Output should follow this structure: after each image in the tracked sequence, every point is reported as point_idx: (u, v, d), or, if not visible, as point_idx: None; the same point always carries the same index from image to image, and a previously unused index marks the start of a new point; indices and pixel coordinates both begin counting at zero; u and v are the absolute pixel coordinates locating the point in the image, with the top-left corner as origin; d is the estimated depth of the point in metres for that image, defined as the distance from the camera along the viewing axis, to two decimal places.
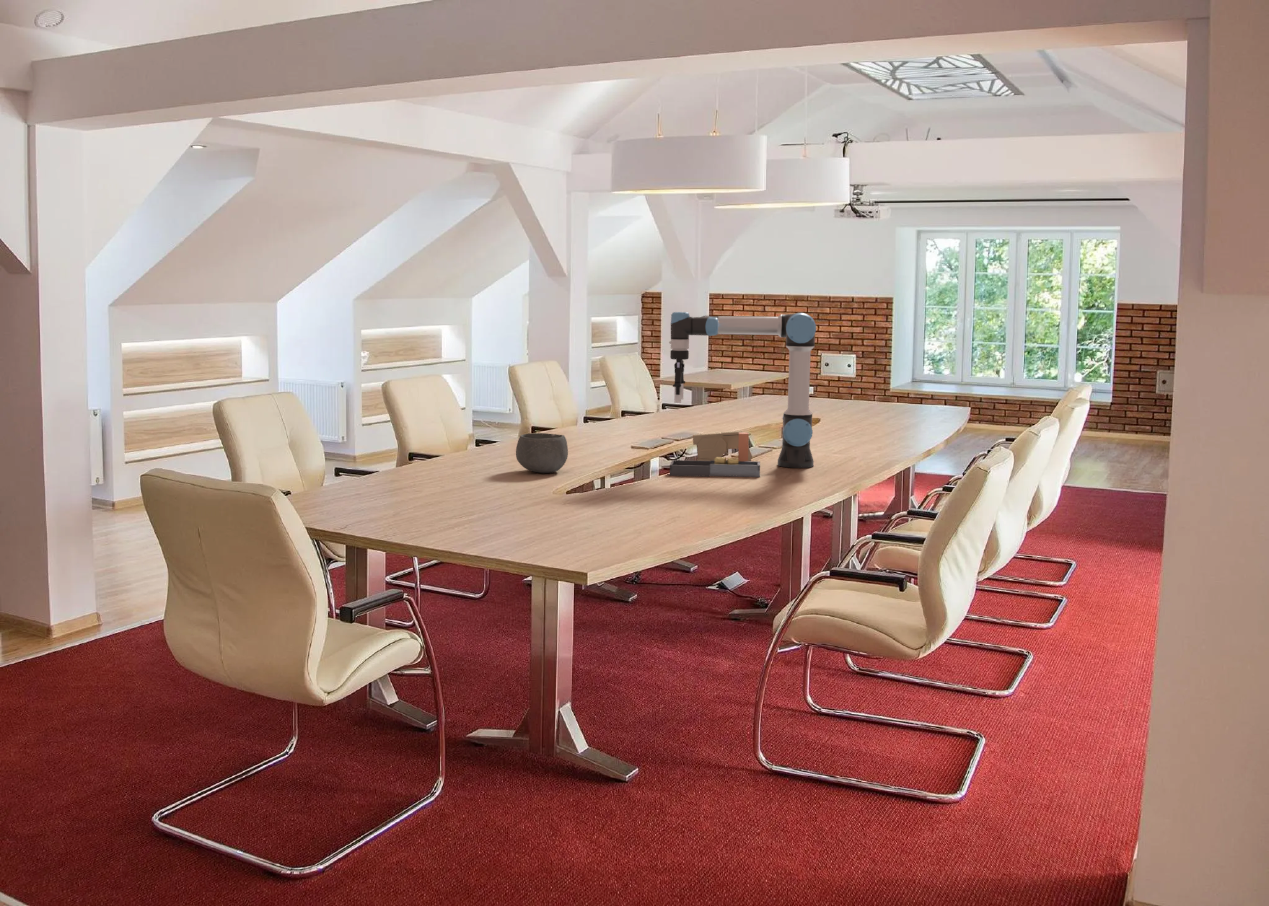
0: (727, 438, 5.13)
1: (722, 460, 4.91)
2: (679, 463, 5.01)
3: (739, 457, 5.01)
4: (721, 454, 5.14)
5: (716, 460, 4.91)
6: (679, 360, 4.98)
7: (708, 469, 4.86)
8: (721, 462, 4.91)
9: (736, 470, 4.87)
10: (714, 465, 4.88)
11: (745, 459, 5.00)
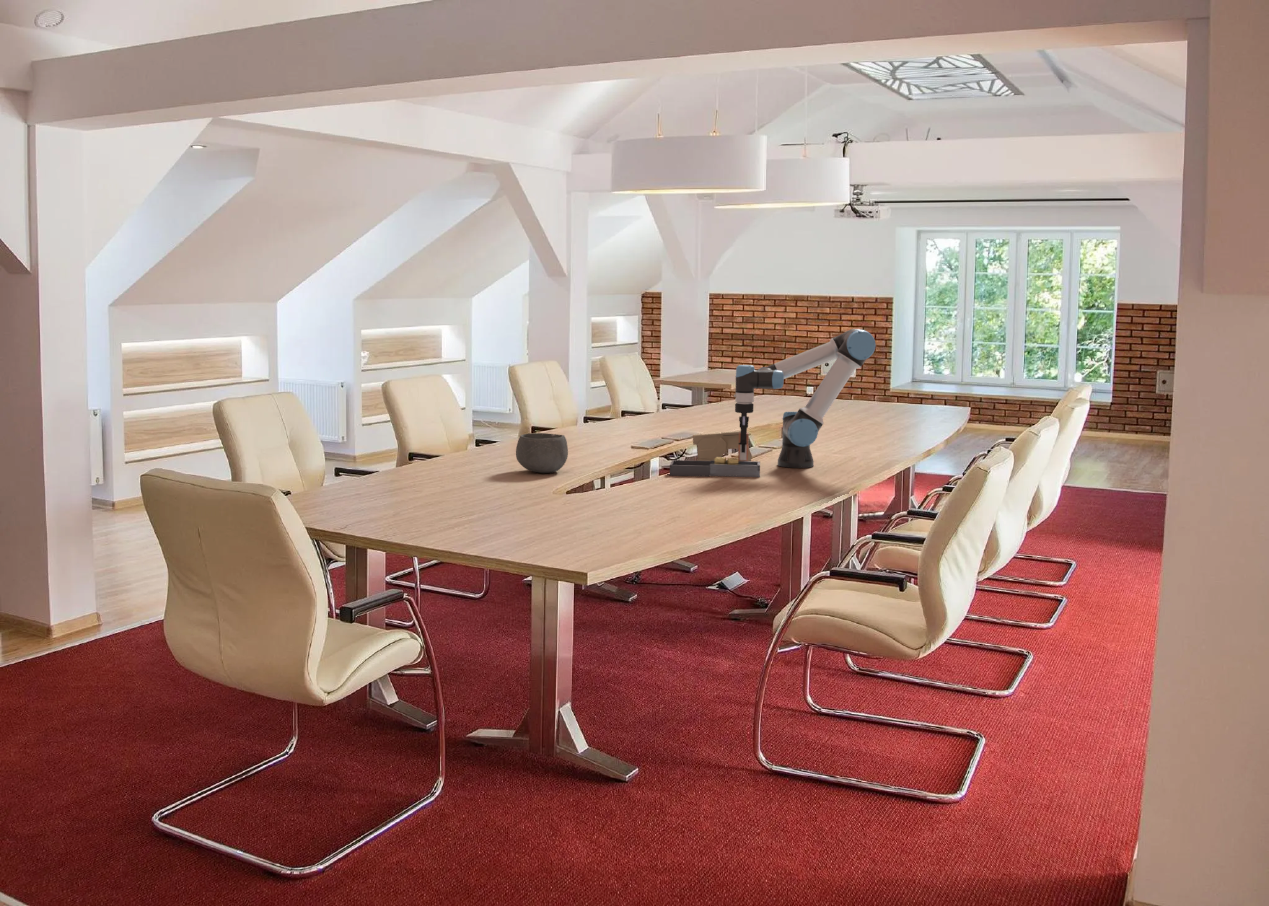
0: (727, 438, 5.13)
1: (722, 460, 4.91)
2: (679, 463, 5.01)
3: (739, 457, 5.01)
4: (721, 454, 5.14)
5: (716, 460, 4.91)
6: (744, 414, 4.96)
7: (708, 469, 4.86)
8: (721, 462, 4.91)
9: (736, 470, 4.87)
10: (714, 465, 4.88)
11: None
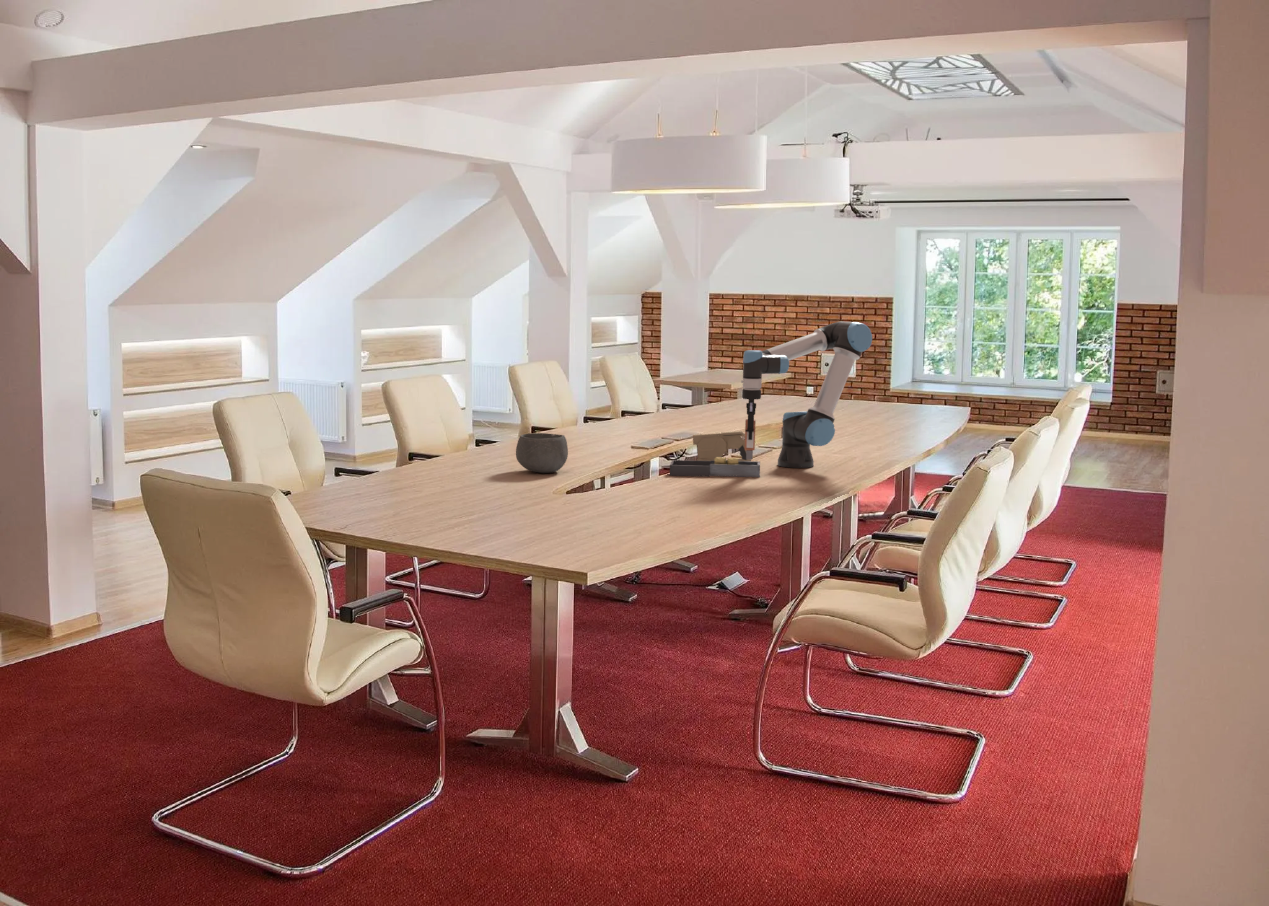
0: (727, 438, 5.13)
1: (722, 460, 4.91)
2: (679, 463, 5.01)
3: (746, 444, 4.88)
4: (721, 454, 5.14)
5: (716, 460, 4.91)
6: (752, 400, 4.84)
7: (708, 469, 4.86)
8: (721, 462, 4.91)
9: (736, 470, 4.87)
10: (714, 465, 4.88)
11: None
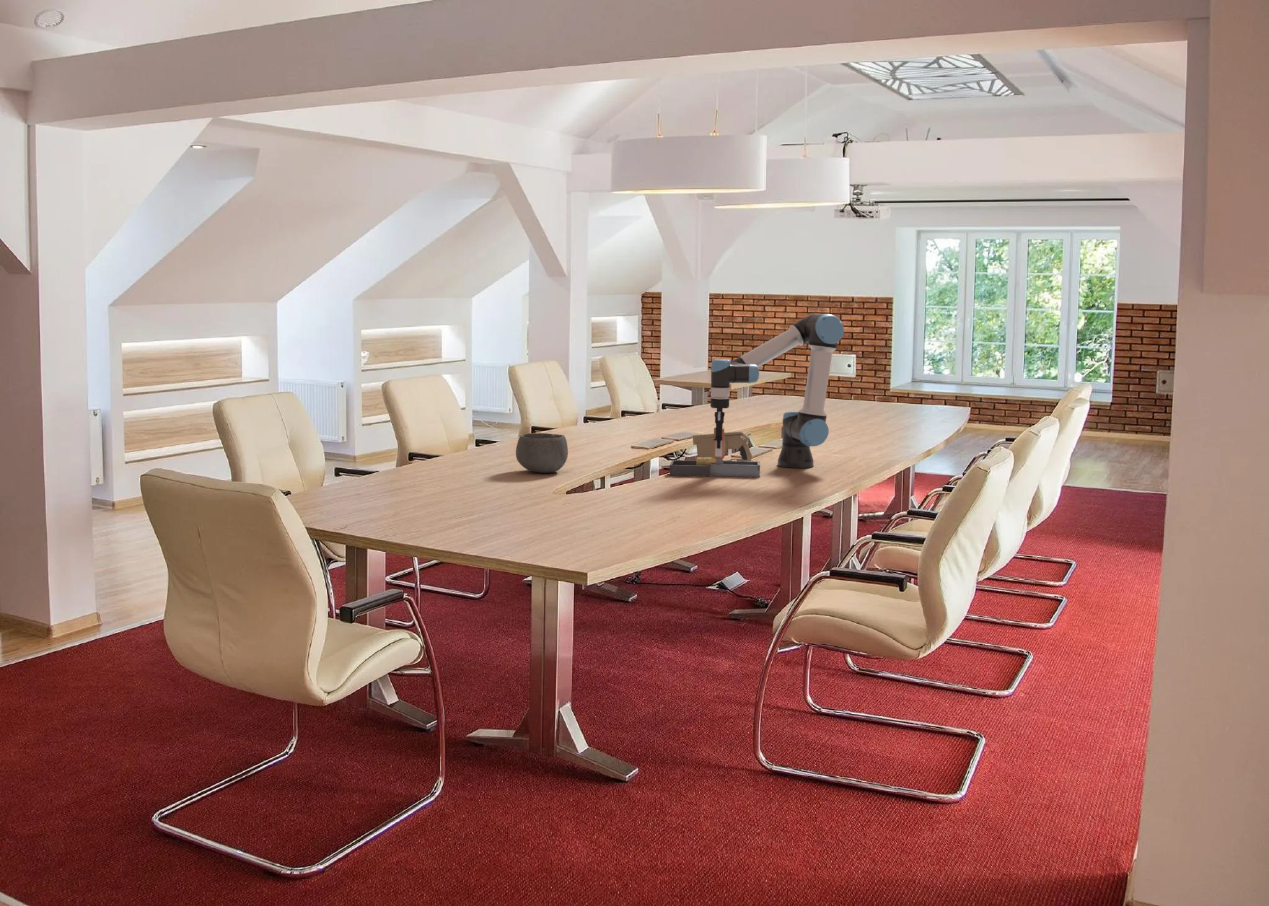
0: (727, 438, 5.13)
1: (704, 460, 4.92)
2: (679, 463, 5.01)
3: None
4: None
5: (698, 460, 4.92)
6: (720, 409, 4.86)
7: (708, 469, 4.86)
8: (703, 462, 4.92)
9: (736, 470, 4.87)
10: (714, 465, 4.88)
11: (722, 455, 4.90)
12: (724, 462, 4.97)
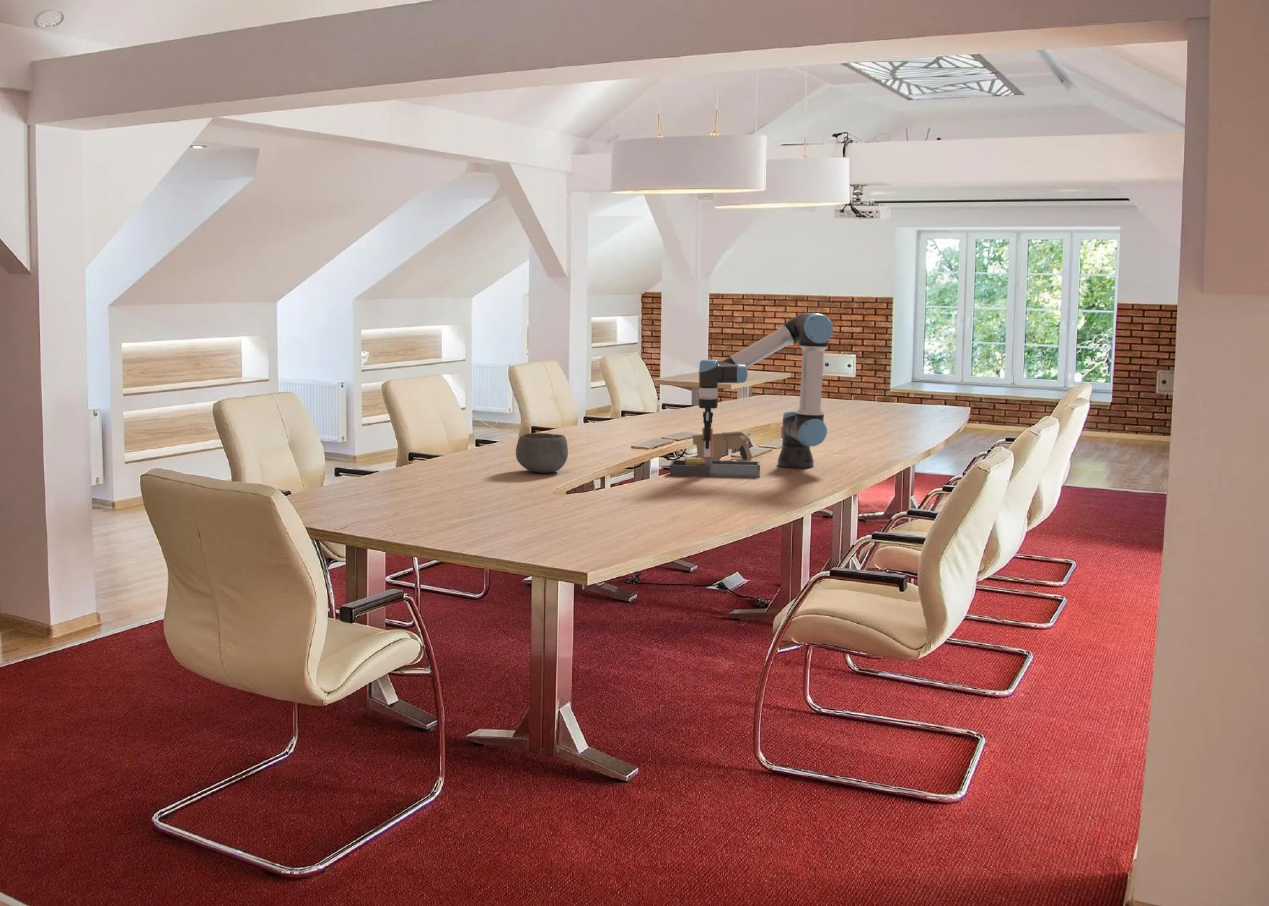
0: (727, 438, 5.13)
1: (693, 460, 4.92)
2: (679, 463, 5.01)
3: None
4: (721, 454, 5.14)
5: (687, 460, 4.92)
6: (708, 409, 4.86)
7: (708, 469, 4.86)
8: (692, 462, 4.92)
9: (736, 470, 4.87)
10: (714, 465, 4.88)
11: (711, 454, 4.90)
12: (724, 462, 4.97)
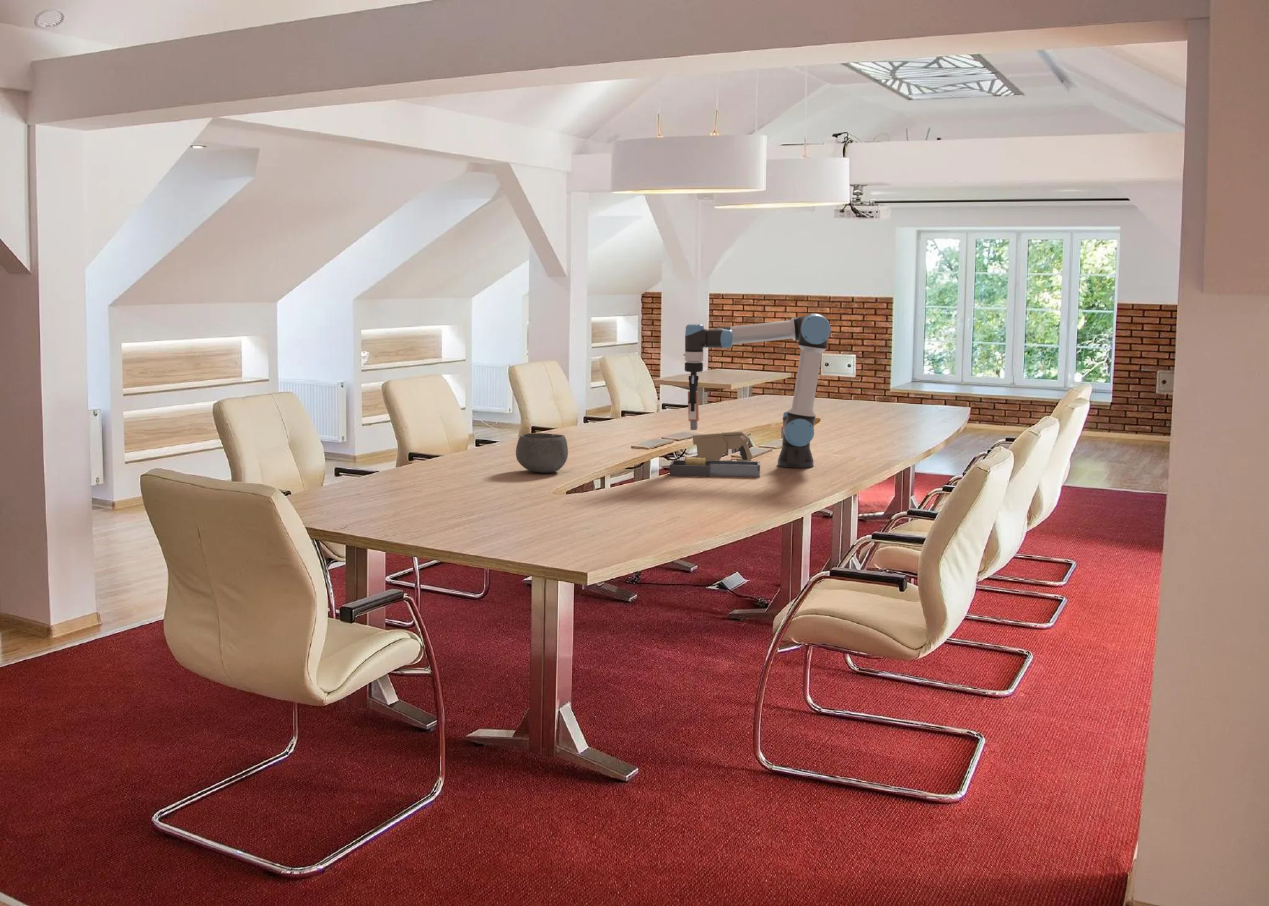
0: (727, 438, 5.13)
1: (693, 460, 4.92)
2: (679, 463, 5.01)
3: None
4: (721, 454, 5.14)
5: (687, 460, 4.92)
6: (693, 372, 4.97)
7: (708, 469, 4.86)
8: (692, 462, 4.92)
9: (736, 470, 4.87)
10: (714, 465, 4.88)
11: (696, 417, 5.01)
12: (724, 462, 4.97)
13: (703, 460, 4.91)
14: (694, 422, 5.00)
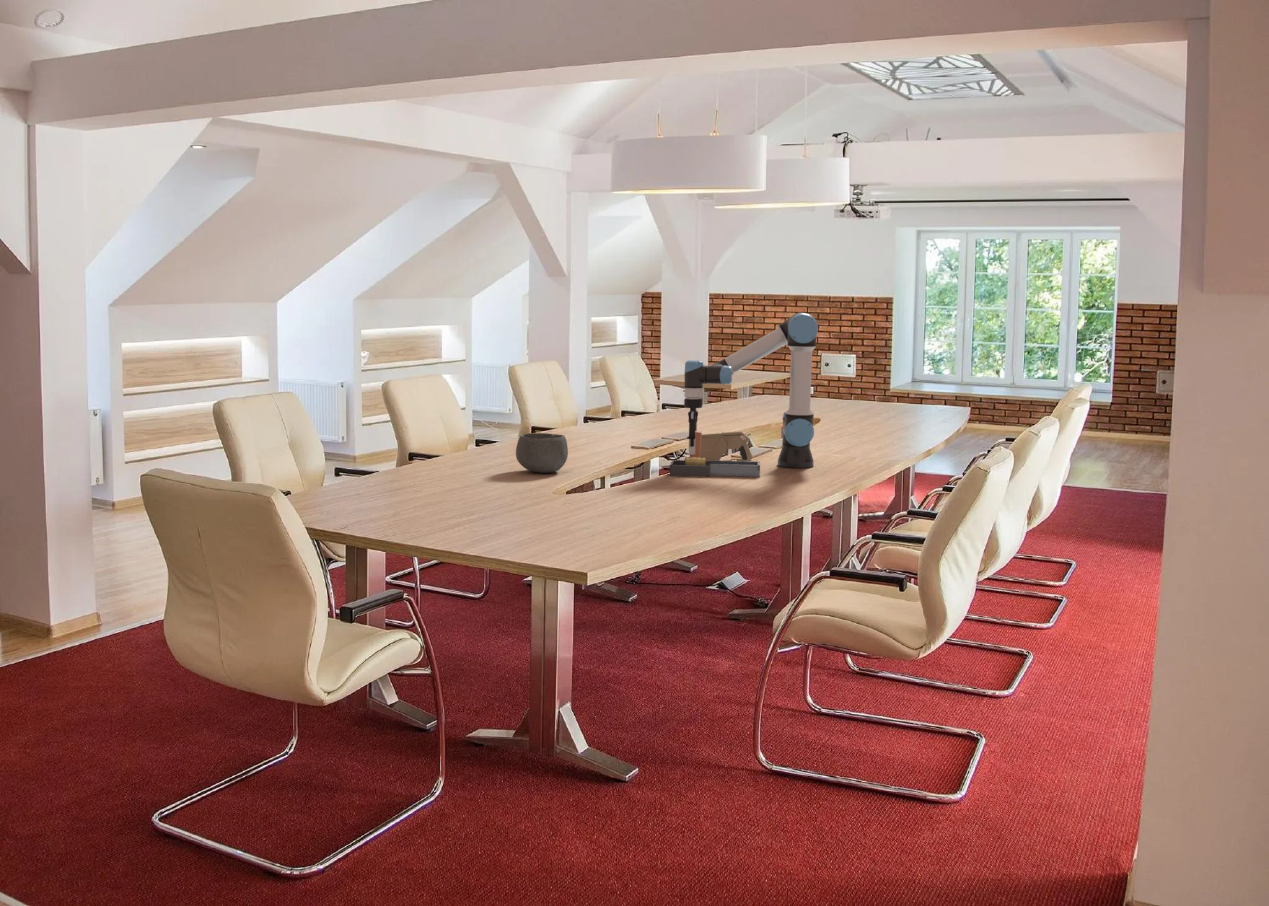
0: (727, 438, 5.13)
1: (693, 460, 4.92)
2: (679, 463, 5.01)
3: (690, 455, 5.04)
4: (721, 454, 5.14)
5: (687, 460, 4.92)
6: (693, 409, 4.99)
7: (708, 469, 4.86)
8: (692, 462, 4.92)
9: (736, 470, 4.87)
10: (714, 465, 4.88)
11: (697, 457, 5.03)
12: (724, 462, 4.97)
13: (703, 460, 4.91)
14: None
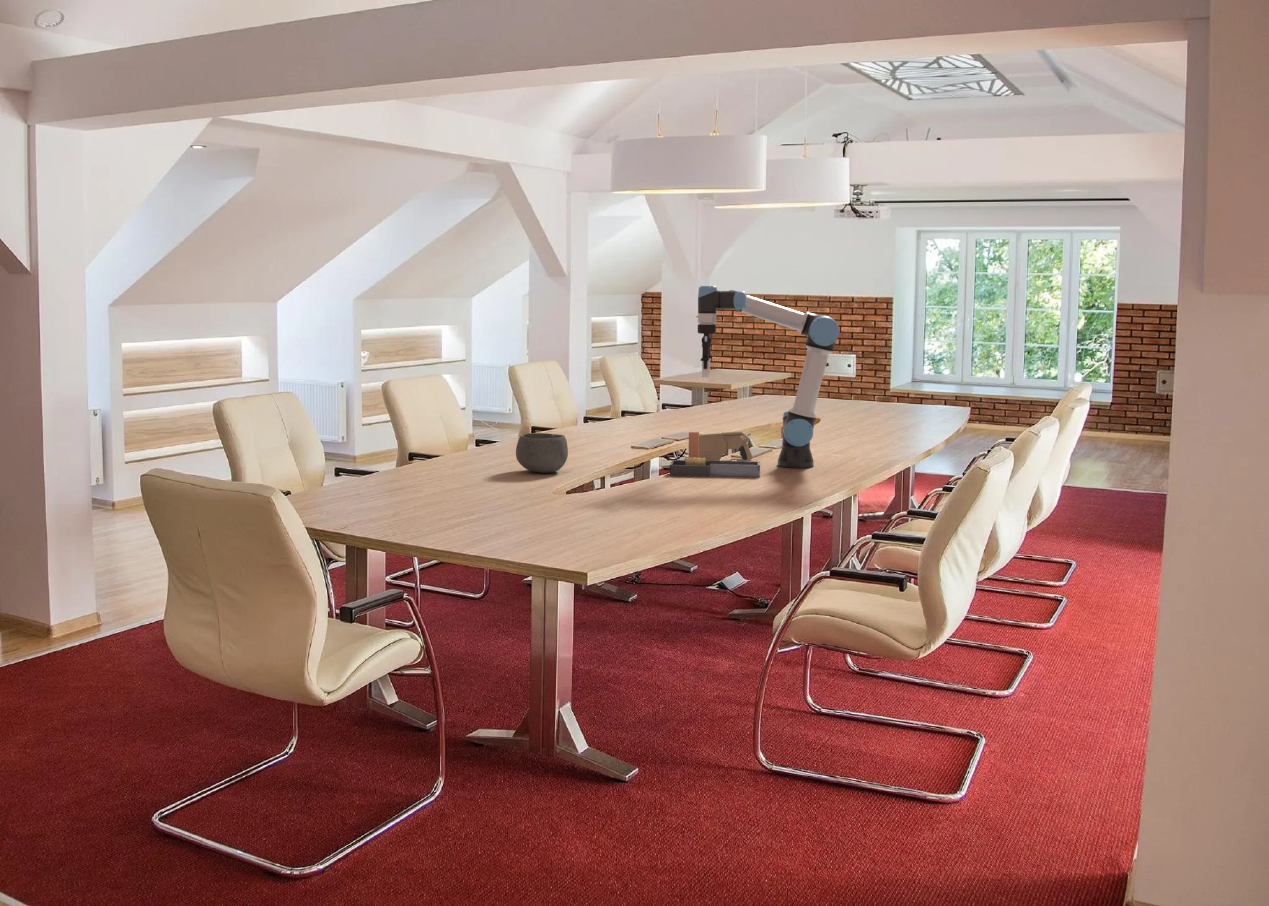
0: (727, 438, 5.13)
1: (693, 460, 4.92)
2: (679, 463, 5.01)
3: (689, 455, 5.04)
4: (721, 454, 5.14)
5: (687, 460, 4.92)
6: (706, 334, 4.95)
7: (708, 469, 4.86)
8: (692, 462, 4.92)
9: (736, 470, 4.87)
10: (714, 465, 4.88)
11: (696, 457, 5.03)
12: (724, 462, 4.97)
13: (703, 460, 4.91)
14: None
